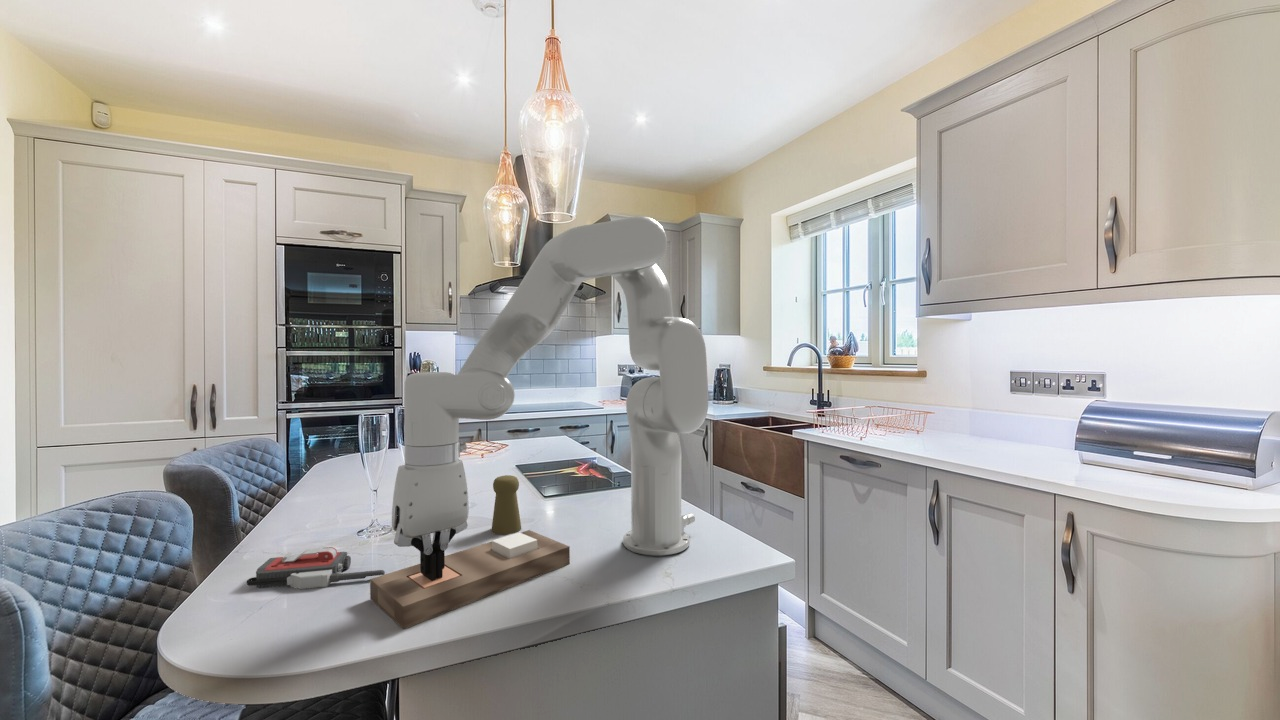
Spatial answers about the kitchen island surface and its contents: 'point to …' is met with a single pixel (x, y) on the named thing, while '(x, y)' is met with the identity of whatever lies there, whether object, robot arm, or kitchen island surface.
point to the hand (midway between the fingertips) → (432, 576)
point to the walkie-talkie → (307, 570)
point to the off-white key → (514, 545)
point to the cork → (506, 506)
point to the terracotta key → (426, 583)
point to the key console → (463, 580)
